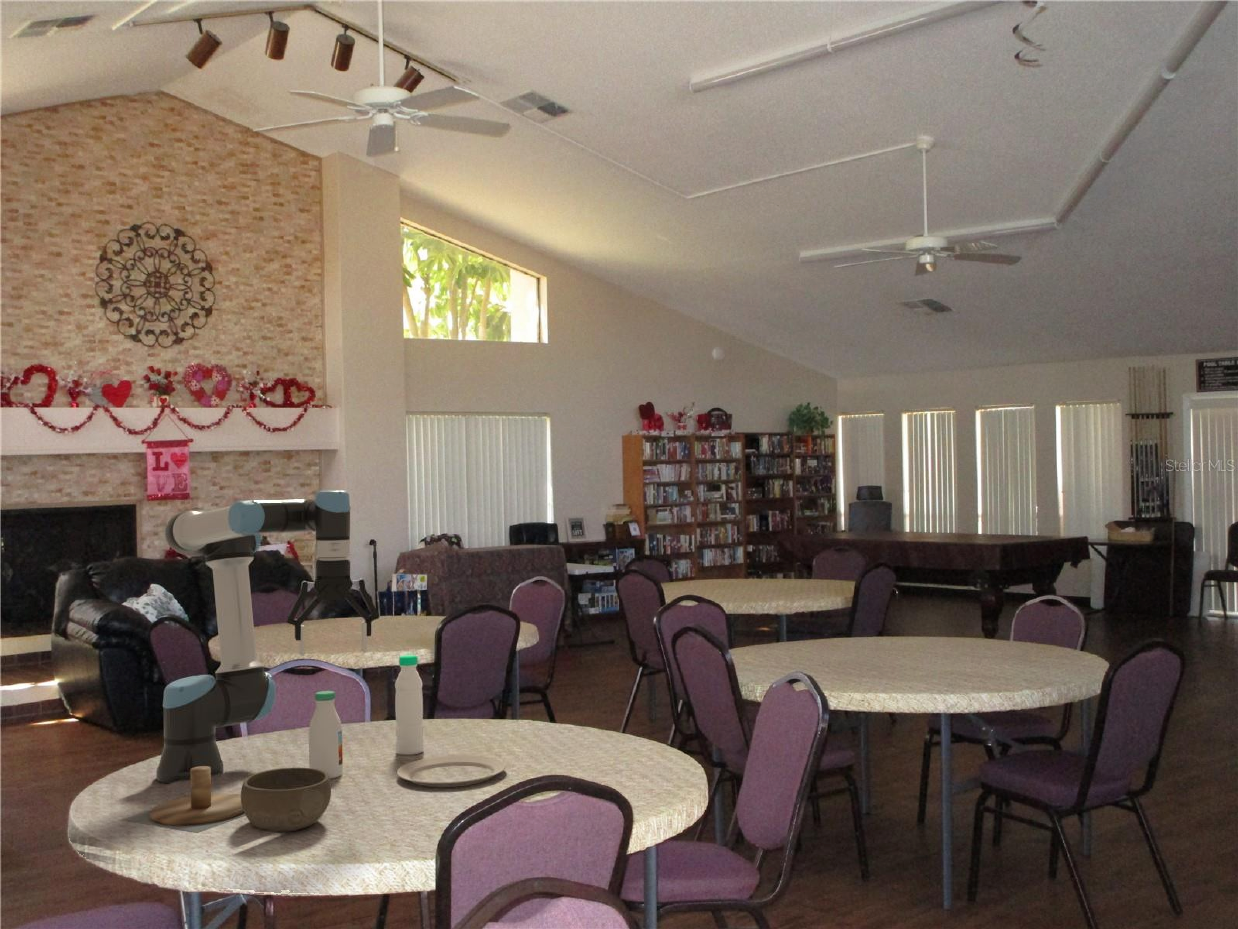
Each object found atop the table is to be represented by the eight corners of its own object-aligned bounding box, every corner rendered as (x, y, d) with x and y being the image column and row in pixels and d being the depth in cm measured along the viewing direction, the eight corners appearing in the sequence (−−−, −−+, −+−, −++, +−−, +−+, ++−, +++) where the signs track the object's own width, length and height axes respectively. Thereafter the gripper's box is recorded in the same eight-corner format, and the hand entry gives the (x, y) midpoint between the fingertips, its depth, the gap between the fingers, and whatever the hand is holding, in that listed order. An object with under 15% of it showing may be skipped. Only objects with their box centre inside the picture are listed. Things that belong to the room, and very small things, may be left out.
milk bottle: (333, 780, 260) (332, 695, 260) (303, 779, 261) (302, 695, 262) (348, 772, 267) (347, 689, 268) (318, 771, 269) (317, 689, 269)
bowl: (317, 839, 216) (317, 787, 216) (227, 840, 216) (226, 789, 217) (341, 813, 233) (340, 765, 234) (257, 814, 234) (257, 767, 234)
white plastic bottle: (410, 757, 282) (409, 658, 282) (390, 754, 285) (388, 657, 286) (429, 751, 288) (427, 654, 288) (409, 748, 291) (407, 653, 292)
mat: (120, 824, 228) (120, 819, 228) (204, 797, 248) (204, 792, 248) (197, 837, 218) (197, 832, 218) (278, 808, 238) (278, 803, 238)
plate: (375, 779, 262) (375, 770, 262) (460, 758, 280) (459, 750, 280) (442, 798, 244) (442, 788, 244) (527, 774, 263) (527, 765, 263)
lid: (128, 819, 229) (127, 775, 229) (204, 794, 247) (203, 753, 247) (197, 830, 220) (196, 785, 220) (271, 804, 238) (270, 762, 238)
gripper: (276, 561, 241) (277, 659, 241) (391, 558, 250) (392, 651, 250) (274, 559, 248) (274, 654, 248) (386, 555, 257) (386, 647, 257)
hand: (333, 653), depth 249 cm, fingers open, 13 cm apart
